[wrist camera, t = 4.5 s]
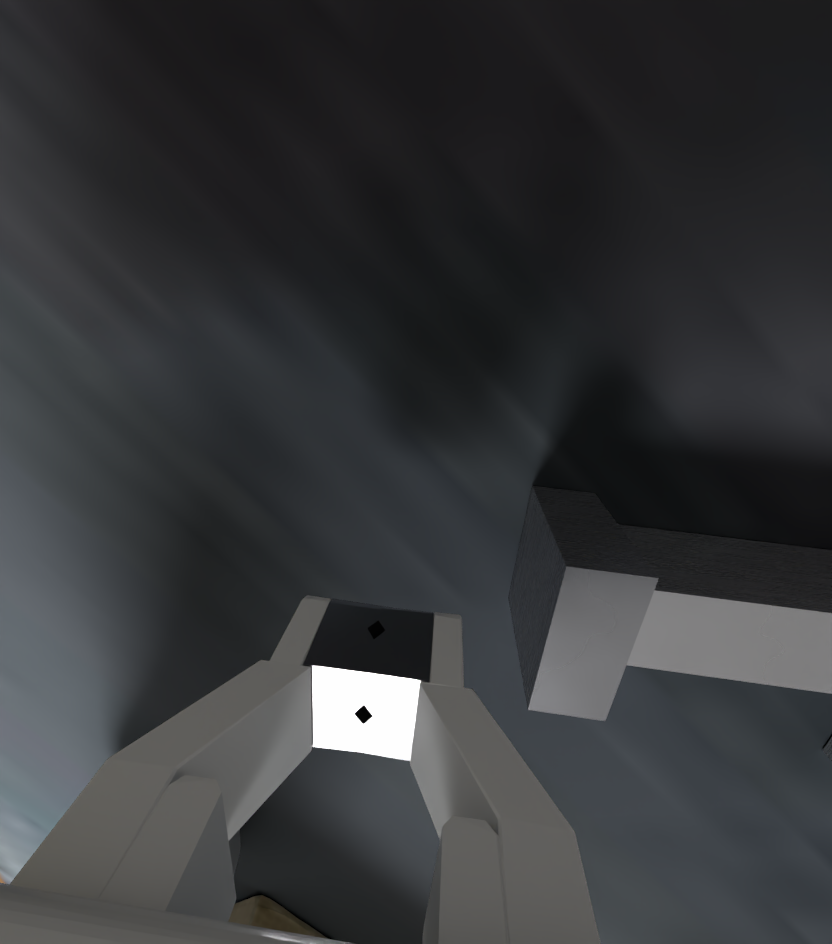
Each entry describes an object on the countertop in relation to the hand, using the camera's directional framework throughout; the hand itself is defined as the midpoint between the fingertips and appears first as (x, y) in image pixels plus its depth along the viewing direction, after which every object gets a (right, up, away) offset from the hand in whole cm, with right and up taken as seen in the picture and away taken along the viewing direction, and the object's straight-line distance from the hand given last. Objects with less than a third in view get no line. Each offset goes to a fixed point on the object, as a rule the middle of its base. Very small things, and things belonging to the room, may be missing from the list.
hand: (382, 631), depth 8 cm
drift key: (+9, 0, +3) cm, 10 cm away
